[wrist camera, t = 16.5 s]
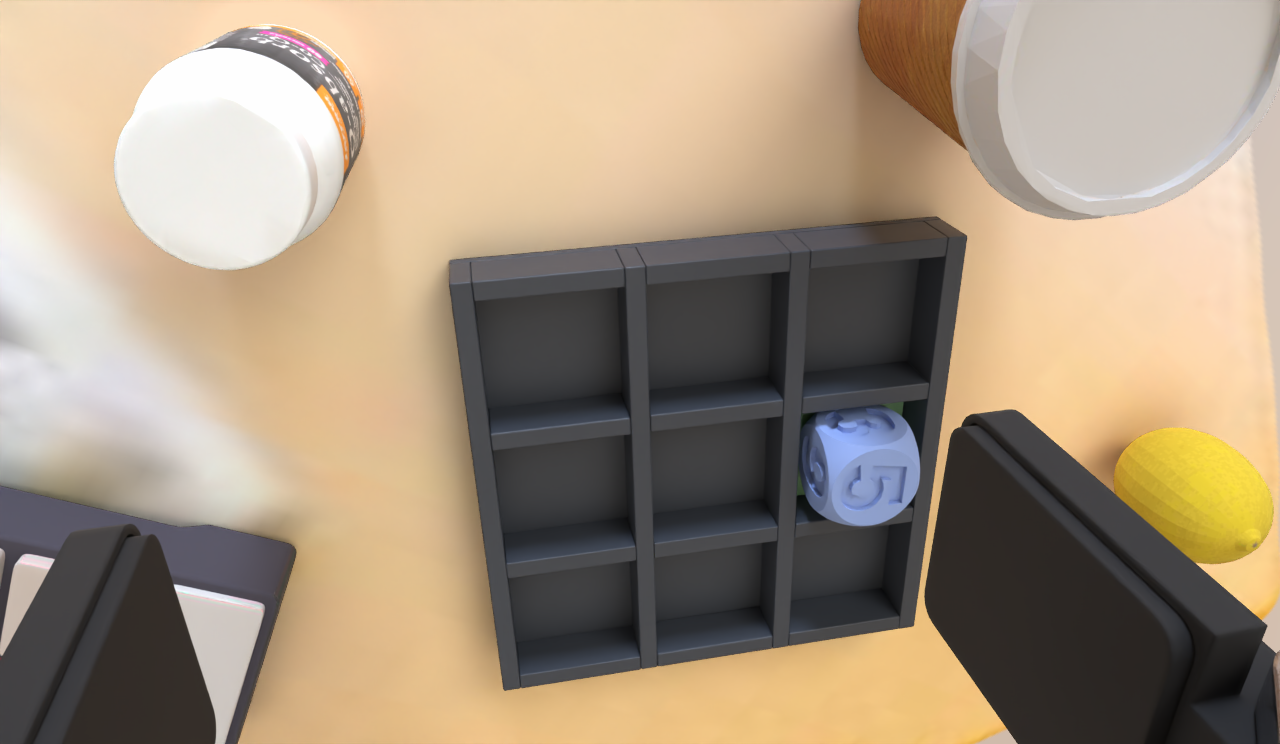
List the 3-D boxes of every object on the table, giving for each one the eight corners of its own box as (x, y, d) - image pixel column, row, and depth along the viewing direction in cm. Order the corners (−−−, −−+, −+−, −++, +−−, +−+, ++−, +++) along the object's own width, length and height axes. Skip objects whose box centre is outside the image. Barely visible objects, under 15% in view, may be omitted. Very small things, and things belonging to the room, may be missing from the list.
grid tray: (501, 651, 44) (503, 691, 42) (449, 259, 35) (448, 283, 33) (891, 592, 47) (914, 626, 45) (937, 216, 38) (967, 235, 36)
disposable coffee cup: (1034, -180, 32) (1319, -224, 22) (1072, 80, 37) (1322, 149, 26) (783, -67, 32) (944, -56, 22) (852, 178, 37) (1013, 286, 26)
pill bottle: (400, 105, 32) (381, 178, 24) (299, 221, 34) (245, 331, 25) (261, -18, 30) (182, 13, 21) (156, 111, 31) (41, 191, 22)
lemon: (1169, 487, 48) (1293, 587, 40) (1071, 500, 47) (1180, 605, 40) (1195, 393, 45) (1332, 483, 38) (1092, 406, 44) (1212, 500, 37)
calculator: (-171, 514, 32) (277, 610, 36) (-98, 450, 35) (299, 544, 40) (-189, 742, 35) (217, 805, 40) (-121, 663, 39) (242, 728, 43)
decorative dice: (876, 471, 43) (914, 522, 39) (794, 481, 42) (825, 532, 39) (886, 395, 41) (927, 441, 38) (800, 404, 40) (833, 451, 37)
